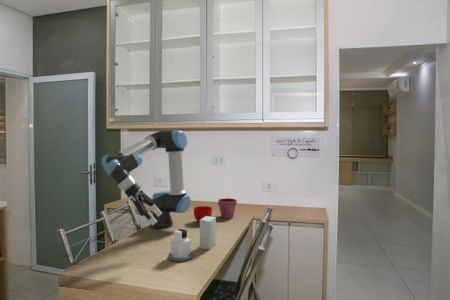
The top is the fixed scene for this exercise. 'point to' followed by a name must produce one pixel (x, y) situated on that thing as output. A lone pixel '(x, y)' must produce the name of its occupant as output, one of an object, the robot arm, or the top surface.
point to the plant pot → (227, 207)
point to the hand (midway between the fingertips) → (157, 219)
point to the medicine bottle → (180, 244)
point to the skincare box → (207, 232)
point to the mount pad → (177, 259)
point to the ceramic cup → (202, 212)
